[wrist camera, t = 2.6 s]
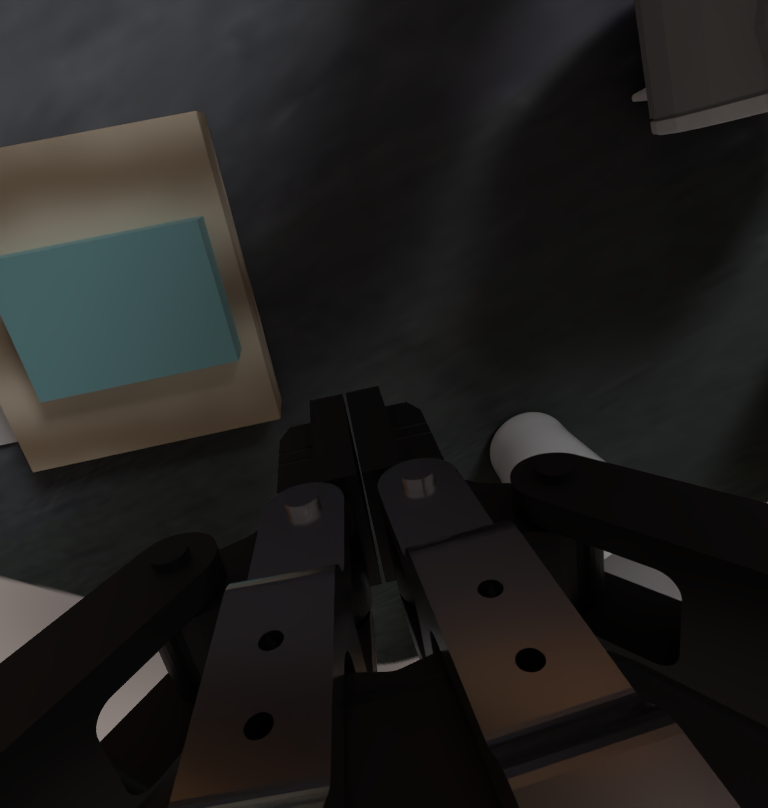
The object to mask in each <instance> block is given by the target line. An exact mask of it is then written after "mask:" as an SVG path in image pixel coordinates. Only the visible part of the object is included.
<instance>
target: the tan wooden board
mask: <svg viewBox="0 0 768 808" xmlns="http://www.w3.org/2000/svg"><path fill="white" fill-rule="evenodd" d="M198 216H203V217H204V220H205V223H206V227H207V230H208V234H209V237H210V241H211V244H212V248H213V251H214V255H215V258H216V261H217V265H218V268H219V272H220V275H221V279H222V282H223V286H224V289H225V293H226V296H227V299H228V303H229V306H230V310H231V313H232V317H233V320H234V324H235V327H236V330H237V334H238V337H239V341H240V344H241V348H242V350H241V354H240V357H239V361H236V362H231V363H226V364H222V365H217V366H212V367H208V368H203V369H198V370H193V371H189V372H184V373H179V374H174V375H170V376H165V377H160V378H155V379H151V380H146V381H141V382H136V383H132V384H127V385H122V386H117V387H113V388H108V389H103V390H98V391H94V392H89V393H84V394H79V395H75V396H70V397H65V398H61V399H56V400H51V401H46V402H42V403H40V401H39V398H38V396H37V394H36V392H35V390H34V388H33V385H32V383H31V381H30V379H29V377H28V374H27V372H26V370H25V368H24V366H23V363H22V361H21V359H20V357H19V355H18V352H17V350H16V348H15V346H14V344H13V341H12V339H11V337H10V335H9V333H8V331H7V328H6V326H5V324H4V322H3V320H2V317H1V315H0V405H1V407H2V410H3V412H4V414H5V416H6V418H7V420H8V422H9V424H10V426H11V428H12V430H13V432H14V434H15V436H16V438H17V440H18V442H19V444H20V446H21V449H22V451H23V453H24V455H25V457H26V459H27V461H28V463H29V465H30V467H31V469H32V471H33V472H37V471H42V470H46V469H51V468H56V467H60V466H65V465H70V464H74V463H79V462H83V461H88V460H93V459H97V458H102V457H106V456H111V455H116V454H120V453H125V452H129V451H134V450H139V449H143V448H148V447H153V446H157V445H162V444H166V443H171V442H176V441H180V440H185V439H189V438H194V437H199V436H203V435H208V434H213V433H217V432H222V431H226V430H231V429H236V428H240V427H245V426H249V425H254V424H259V423H263V422H268V421H273V420H277V419H281V400H282V398H281V394H280V391H279V387H278V383H277V380H276V376H275V372H274V368H273V365H272V361H271V357H270V354H269V350H268V346H267V343H266V339H265V335H264V332H263V328H262V324H261V320H260V317H259V313H258V309H257V306H256V302H255V298H254V295H253V291H252V287H251V283H250V280H249V276H248V272H247V269H246V265H245V261H244V258H243V254H242V250H241V246H240V243H239V239H238V235H237V232H236V228H235V224H234V221H233V217H232V213H231V209H230V206H229V202H228V198H227V195H226V191H225V187H224V184H223V180H222V176H221V172H220V169H219V165H218V161H217V158H216V154H215V150H214V147H213V143H212V139H211V135H210V132H209V128H208V124H207V121H206V117H205V114H203V113H200V112H197V111H193V112H187V113H182V114H177V115H171V116H166V117H161V118H156V119H150V120H145V121H140V122H134V123H129V124H124V125H118V126H113V127H108V128H102V129H97V130H92V131H87V132H81V133H76V134H71V135H65V136H60V137H55V138H49V139H44V140H39V141H33V142H28V143H23V144H18V145H12V146H7V147H2V148H0V255H6V254H11V253H16V252H21V251H26V250H31V249H36V248H41V247H46V246H51V245H56V244H61V243H66V242H71V241H76V240H81V239H86V238H92V237H97V236H102V235H107V234H112V233H117V232H122V231H127V230H132V229H137V228H142V227H147V226H152V225H157V224H162V223H167V222H172V221H178V220H183V219H188V218H193V217H198Z"/></svg>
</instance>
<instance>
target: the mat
mask: <svg viewBox="0 0 768 808" xmlns="http://www.w3.org/2000/svg"><path fill="white" fill-rule="evenodd" d="M14 442H18V440H17V438H16V436H15V434H14V432H13V430H12V428H11V426H10V424H9V422H8V420H7V418H6V416H5V414H4V412H3V410H2V407H1V405H0V445H4V444H9V443H14Z"/></svg>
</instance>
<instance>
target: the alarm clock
mask: <svg viewBox="0 0 768 808" xmlns="http://www.w3.org/2000/svg"><path fill="white" fill-rule="evenodd" d="M634 5H635V12H636V19H637V27H638V34H639V42H640V49H641V56H642V64H643V71H644V79H645V86H646V88H644V89H642V90H640V91H638V92H637V93H635V94H633V95H632V101H633V102H638V101H648V108H649V116H650V119H653V121H651V122H650V123H651V131H652V133H653V134H656V135H666V134H672V133H679V132H684V131H689V130H693V129H698V128H703V127H707V126H712V125H717V124H721V123H725V122H729V121H733V120H737V119H741V118H745V117H749V116H753V115H758V114H762V113H766V112H768V0H634Z"/></svg>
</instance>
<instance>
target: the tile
mask: <svg viewBox="0 0 768 808" xmlns="http://www.w3.org/2000/svg"><path fill="white" fill-rule="evenodd" d="M0 315H1V317H2V320H3V322H4V324H5V326H6V328H7V331H8V333H9V335H10V337H11V339H12V341H13V344H14V346H15V348H16V350H17V352H18V355H19V357H20V359H21V361H22V363H23V366H24V368H25V370H26V372H27V374H28V377H29V379H30V381H31V383H32V385H33V388H34V390H35V392H36V394H37V396H38V398H39V401H40V403H42V402H46V401H51V400H56V399H61V398H65V397H70V396H75V395H79V394H84V393H89V392H94V391H98V390H103V389H108V388H113V387H117V386H122V385H127V384H132V383H136V382H141V381H146V380H151V379H155V378H160V377H165V376H170V375H174V374H179V373H184V372H189V371H193V370H198V369H203V368H208V367H212V366H217V365H222V364H226V363H231V362H236V361H239V357H240V354H241V350H242V348H241V344H240V341H239V337H238V334H237V330H236V327H235V324H234V320H233V317H232V313H231V310H230V306H229V303H228V299H227V296H226V293H225V289H224V286H223V282H222V279H221V275H220V272H219V268H218V265H217V261H216V258H215V255H214V251H213V248H212V244H211V241H210V237H209V234H208V230H207V227H206V223H205V220H204V217H203V216H198V217H193V218H188V219H183V220H178V221H172V222H167V223H162V224H157V225H152V226H147V227H142V228H137V229H132V230H127V231H122V232H117V233H112V234H107V235H102V236H97V237H92V238H86V239H81V240H76V241H71V242H66V243H61V244H56V245H51V246H46V247H41V248H36V249H31V250H26V251H21V252H16V253H11V254H6V255H0Z"/></svg>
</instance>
